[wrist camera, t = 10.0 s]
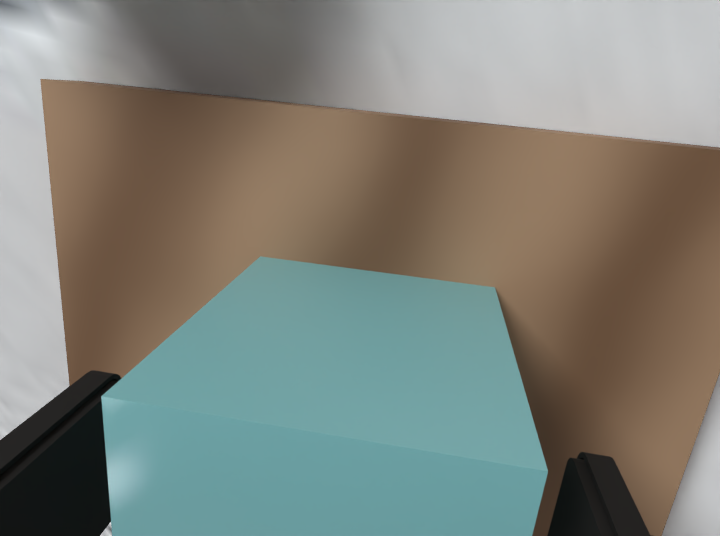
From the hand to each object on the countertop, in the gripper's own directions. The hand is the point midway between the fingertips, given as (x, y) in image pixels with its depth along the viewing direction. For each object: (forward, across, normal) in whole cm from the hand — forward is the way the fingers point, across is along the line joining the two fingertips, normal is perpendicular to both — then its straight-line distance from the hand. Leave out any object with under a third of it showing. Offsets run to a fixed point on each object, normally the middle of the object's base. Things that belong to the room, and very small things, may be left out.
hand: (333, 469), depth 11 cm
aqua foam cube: (+4, 0, 0) cm, 4 cm away
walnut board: (+5, 0, 0) cm, 5 cm away
